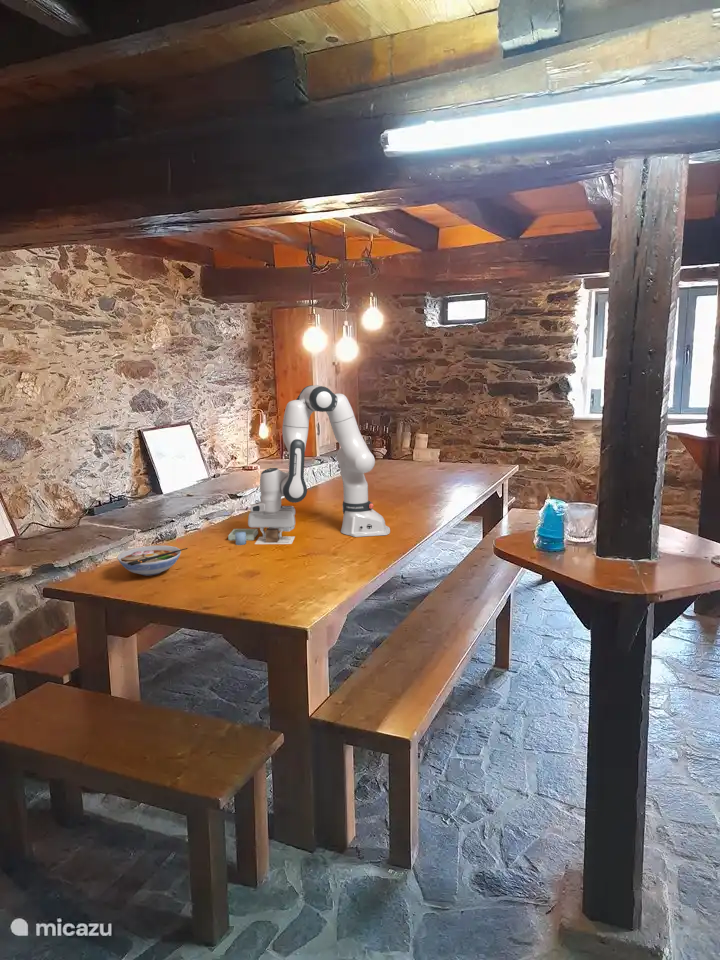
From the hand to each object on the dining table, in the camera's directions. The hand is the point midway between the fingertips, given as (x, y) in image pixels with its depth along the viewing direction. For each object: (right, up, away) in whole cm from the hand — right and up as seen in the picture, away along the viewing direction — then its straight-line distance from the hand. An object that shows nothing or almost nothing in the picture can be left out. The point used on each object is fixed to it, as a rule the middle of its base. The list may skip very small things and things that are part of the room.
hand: (272, 536), depth 287 cm
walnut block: (0, -2, 0) cm, 2 cm away
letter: (+1, -2, +1) cm, 2 cm away
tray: (-14, -1, +7) cm, 16 cm away
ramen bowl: (-40, -10, -40) cm, 57 cm away
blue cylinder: (-13, -3, -3) cm, 14 cm away
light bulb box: (+2, +1, +20) cm, 20 cm away
